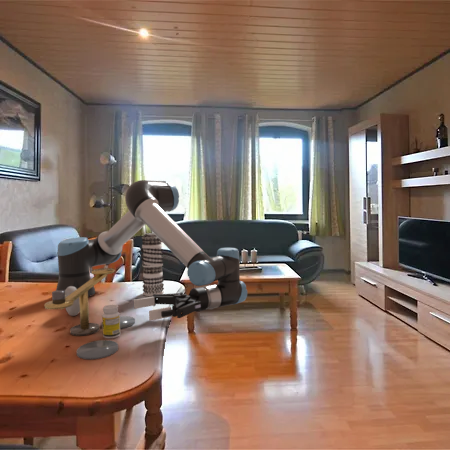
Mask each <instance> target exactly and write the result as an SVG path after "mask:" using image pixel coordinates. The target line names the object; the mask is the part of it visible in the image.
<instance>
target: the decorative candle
mask: <svg viewBox="0 0 450 450" xmlns="http://www.w3.org/2000/svg"><path fill="white" fill-rule="evenodd" d="M141 239H142V245H141V249H140V252H141V253H142V254H141V258H140V259H141V261H142V263H141V266H142V268H143V273H142V275H143V277H141V278H142V283H143V284H142V291H143V293H142V295H143V296H146V297H148V296H149V297H153V294H165V292H164V290H165V287H164V283H163V282H164V275H163V267H162V266H164V261H163V260H164V257H162V256H163V255H164V253H163V252H164V249H163V248H162V247H163V246H162V241H161V240H160V239H159V238H158V237H157V236H156V235H155V234H154V233H153V232H146V233H144V235H143V236H142V237H141Z"/></svg>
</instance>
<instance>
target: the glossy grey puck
mask: <svg viewBox="0 0 450 450" xmlns="http://www.w3.org/2000/svg"><path fill="white" fill-rule="evenodd" d="M135 324H136V319H135V317H133V316H128V315H120V330H121V329H125V328H129V327H132V326H133V325H135ZM101 328H103V322H102V321H101Z"/></svg>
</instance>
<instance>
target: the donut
mask: <svg viewBox="0 0 450 450" xmlns="http://www.w3.org/2000/svg"><path fill="white" fill-rule="evenodd" d="M75 290H77V289H76V288H75V287H73V286H70V287H68V288H67V289H66V290H65V298H66V297H67V296H69V295H70V294H71V293H73V292H74V291H75ZM65 310H66V313H68V315H69V316H71V317H74V316H77V315H79V314H80V304H79V298H77V299H76V300H75V301H73V305H72V306H70V307H67V308H65Z"/></svg>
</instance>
